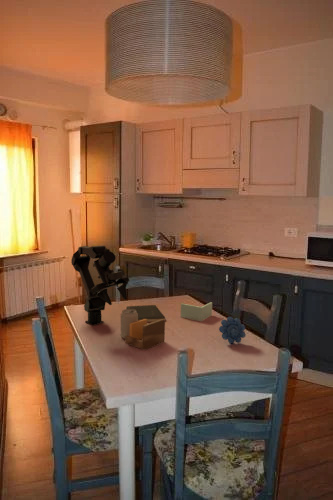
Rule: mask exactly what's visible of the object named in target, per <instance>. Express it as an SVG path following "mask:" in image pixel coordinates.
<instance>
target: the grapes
mask: <svg viewBox="0 0 333 500" xmlns="http://www.w3.org/2000/svg"><path fill="white" fill-rule="evenodd" d="M220 324H221V326H219V328H218V331H219V332H220V333H221V338H222V339H223V340H225V341H226V340H227V341H228V343H229V344H231V343H233V344H235V343H238V344H240V343H241V342H242V339H244V338H245V337H246V332H245V330H246V325H244V324H243V323H242V322H241V319H240V318H237V317H236V318H234V317H233V316H228V317H227V318H226V319H222V320H221V322H220Z"/></svg>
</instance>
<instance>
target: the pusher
mask: <svg viewBox="0 0 333 500" xmlns="http://www.w3.org/2000/svg"><path fill="white" fill-rule="evenodd" d="M146 324H148V322H147V319H143V320H140V321H137V322H133V323H130V337H133V338H136V339H139V340H142V337H143V325H146Z"/></svg>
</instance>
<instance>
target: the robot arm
mask: <svg viewBox="0 0 333 500" xmlns="http://www.w3.org/2000/svg"><path fill="white" fill-rule="evenodd" d="M116 257H117V256H116V255H115V254H114V252H112V251H111V250H110V248H107V247H106V245H92V246H88V245H83V246H82V245H81V246H78V247H77V250H76V251H75V252H74V253H73V254H72V257H71V261H70V262H71V265H72V267H73V269H74V270H75V271H77V272H78V273H79V276H80V278H81V280H82V284H83V285H84V288H85V292H86V294H87V297H86V300H85V303H84V305H83V307H84V309H83V310H84V311H85V312H86V313H87V320H85V322H84V323H86V324H89V325H92V326H96V325H98V324H102V323H104V320H102V311H104V310H105V308H106V303H107V305H109V306H112V305H113V304H112V301H111V298H110V296H109V294H108V289H110V288H113V287H115V286H116V287H117V288H116V289H117V291H118V292H119V294H120V296H121V297H122V298H123V300H125V301H126V300H128V298H127V297H128V296H127V295H128V294H127V285H128V284H129V282H130V278H129V276H126V273H125V270H124V269H123V268H119V269H117V271H114V269H111V268H110V266H112V265H113V263H114V262H115V261H116ZM91 259H96V260H94V261H93V264H92V266H93V268H95V269H96V271H97V274H98V276H97V279H98V280H101V283H98V284H95V283H94V282H95V281H94V280H93V279H94V278H93V277H92V275H91V272H90V270H89V266H90V262H91Z"/></svg>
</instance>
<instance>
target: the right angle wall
mask: <svg viewBox="0 0 333 500" xmlns="http://www.w3.org/2000/svg"><path fill="white" fill-rule="evenodd" d="M211 315H213V302H211V301H210V302H208V303H206V304H204V305H203V306H197V305H193V304H186V303H180V318H183V319H189V320H192V321H198V322H203V321H205V320H206V319H208V318H209V316H210V317H211ZM204 319H205V320H204Z"/></svg>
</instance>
